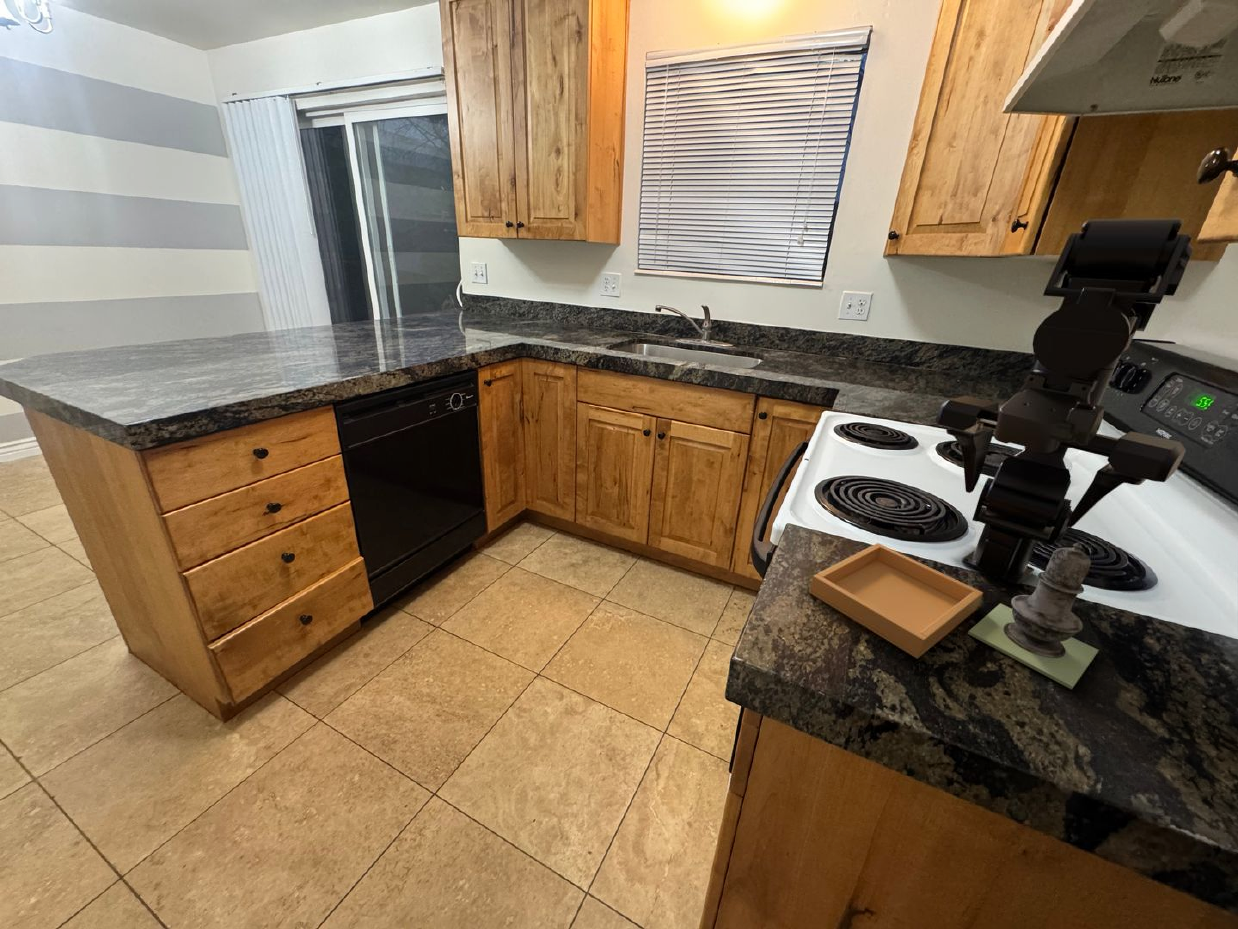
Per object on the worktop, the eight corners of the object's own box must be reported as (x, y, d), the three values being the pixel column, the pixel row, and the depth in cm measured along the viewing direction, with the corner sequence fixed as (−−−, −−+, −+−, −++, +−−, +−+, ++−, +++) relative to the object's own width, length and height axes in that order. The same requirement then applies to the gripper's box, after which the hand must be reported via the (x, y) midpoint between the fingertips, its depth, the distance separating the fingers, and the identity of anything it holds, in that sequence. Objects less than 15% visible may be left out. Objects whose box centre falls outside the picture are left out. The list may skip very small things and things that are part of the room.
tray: (873, 557, 67) (877, 542, 66) (976, 609, 58) (983, 592, 57) (808, 592, 59) (812, 575, 58) (917, 659, 50) (924, 640, 49)
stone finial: (1074, 669, 49) (1128, 566, 45) (1002, 644, 52) (1046, 545, 47) (1063, 635, 54) (1111, 539, 49) (998, 614, 57) (1037, 521, 52)
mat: (999, 606, 59) (1000, 603, 59) (1097, 653, 52) (1099, 650, 52) (967, 633, 54) (968, 631, 54) (1071, 690, 47) (1073, 686, 47)
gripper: (934, 351, 50) (893, 490, 56) (1202, 394, 36) (1110, 573, 42) (979, 346, 56) (937, 472, 62) (1222, 381, 42) (1140, 539, 48)
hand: (1016, 508), depth 54 cm, fingers open, 9 cm apart
